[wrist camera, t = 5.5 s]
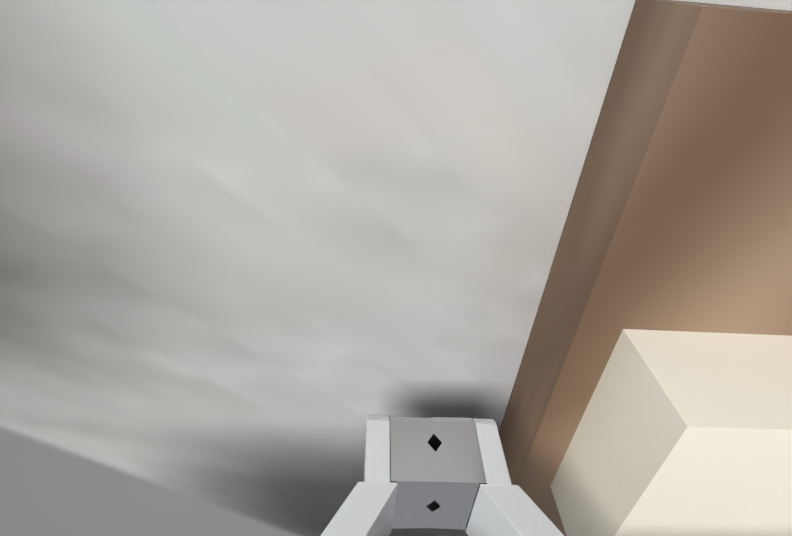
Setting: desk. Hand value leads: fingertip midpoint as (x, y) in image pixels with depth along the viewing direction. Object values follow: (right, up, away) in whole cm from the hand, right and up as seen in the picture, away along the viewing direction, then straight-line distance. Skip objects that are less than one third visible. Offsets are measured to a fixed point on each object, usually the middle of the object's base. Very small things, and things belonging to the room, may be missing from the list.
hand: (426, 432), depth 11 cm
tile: (+8, 0, +1) cm, 8 cm away
